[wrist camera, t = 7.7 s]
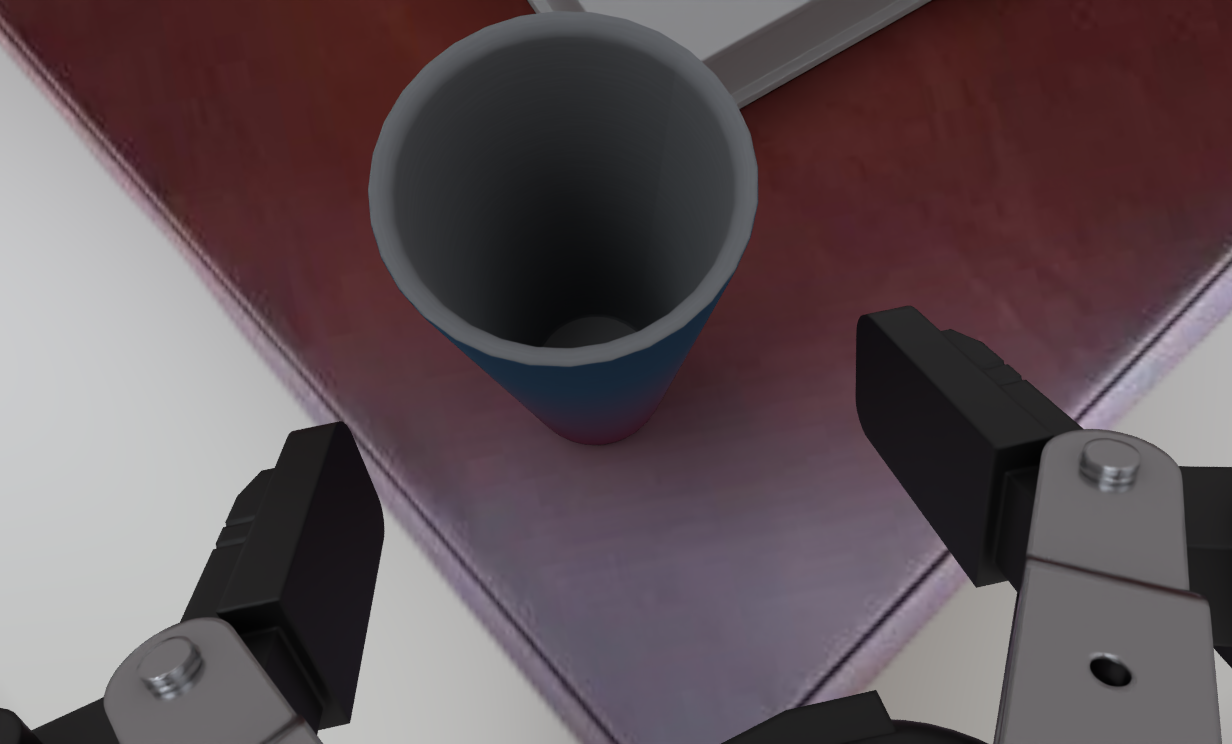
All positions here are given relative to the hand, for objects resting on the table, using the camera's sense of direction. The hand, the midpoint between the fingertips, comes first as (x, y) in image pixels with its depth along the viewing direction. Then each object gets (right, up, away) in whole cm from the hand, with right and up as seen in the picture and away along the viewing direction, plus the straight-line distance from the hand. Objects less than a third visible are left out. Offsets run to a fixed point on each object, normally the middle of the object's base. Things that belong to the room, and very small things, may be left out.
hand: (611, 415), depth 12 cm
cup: (-1, 0, +10) cm, 11 cm away
